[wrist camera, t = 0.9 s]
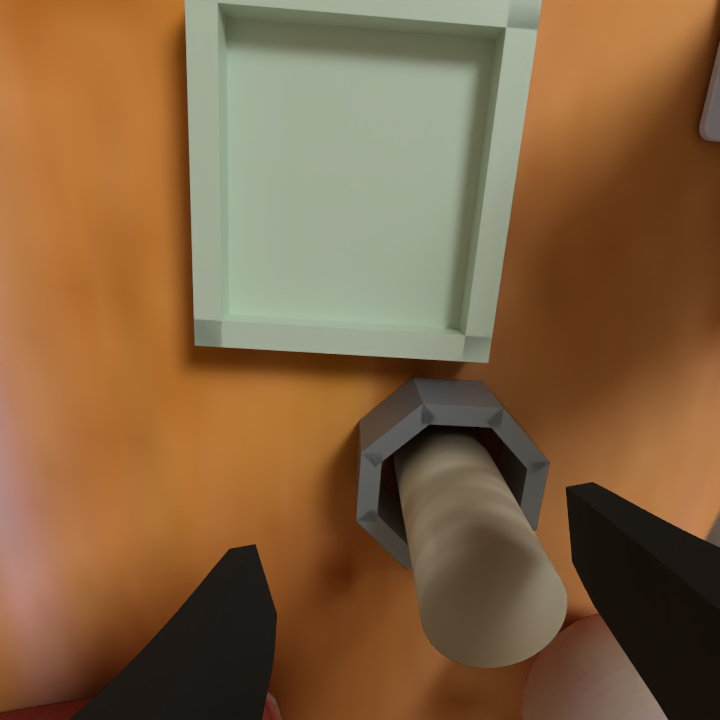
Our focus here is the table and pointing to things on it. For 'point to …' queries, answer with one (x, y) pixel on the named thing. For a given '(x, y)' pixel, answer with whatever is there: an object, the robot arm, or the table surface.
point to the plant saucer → (57, 715)
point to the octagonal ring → (439, 407)
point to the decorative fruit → (586, 679)
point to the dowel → (474, 553)
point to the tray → (354, 171)
